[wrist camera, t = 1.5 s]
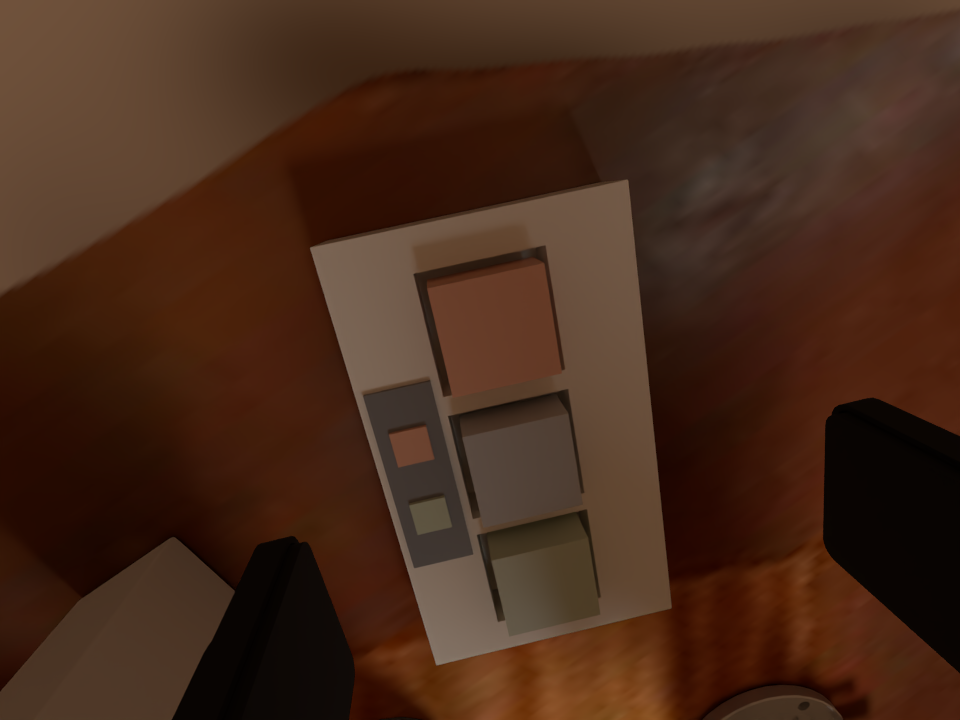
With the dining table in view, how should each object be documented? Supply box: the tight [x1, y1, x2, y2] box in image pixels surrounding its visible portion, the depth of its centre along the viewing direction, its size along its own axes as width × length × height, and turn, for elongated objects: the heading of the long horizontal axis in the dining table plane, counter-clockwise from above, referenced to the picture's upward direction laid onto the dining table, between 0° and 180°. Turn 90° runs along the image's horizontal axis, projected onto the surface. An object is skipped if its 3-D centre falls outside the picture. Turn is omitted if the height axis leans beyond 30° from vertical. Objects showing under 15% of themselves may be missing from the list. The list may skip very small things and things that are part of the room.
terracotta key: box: [427, 257, 562, 398], centre depth 23 cm, size 5×5×2 cm
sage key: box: [487, 512, 600, 637], centre depth 28 cm, size 5×5×2 cm
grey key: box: [459, 394, 583, 528], centre depth 25 cm, size 5×5×2 cm
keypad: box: [310, 180, 672, 665], centre depth 27 cm, size 14×24×4 cm, turn 11°
